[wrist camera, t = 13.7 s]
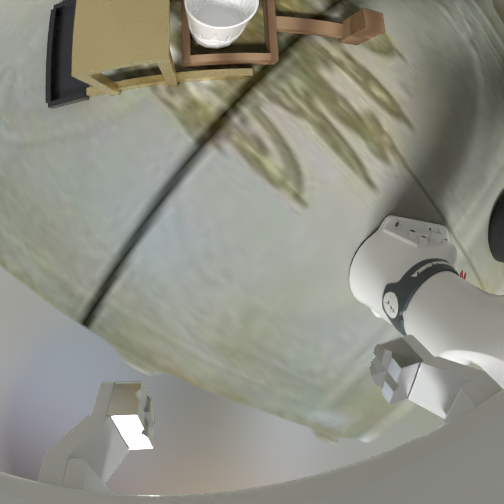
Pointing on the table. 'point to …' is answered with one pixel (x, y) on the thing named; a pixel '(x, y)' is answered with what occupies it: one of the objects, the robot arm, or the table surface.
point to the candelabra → (497, 232)
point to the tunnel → (112, 49)
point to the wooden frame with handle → (348, 31)
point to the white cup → (218, 20)
